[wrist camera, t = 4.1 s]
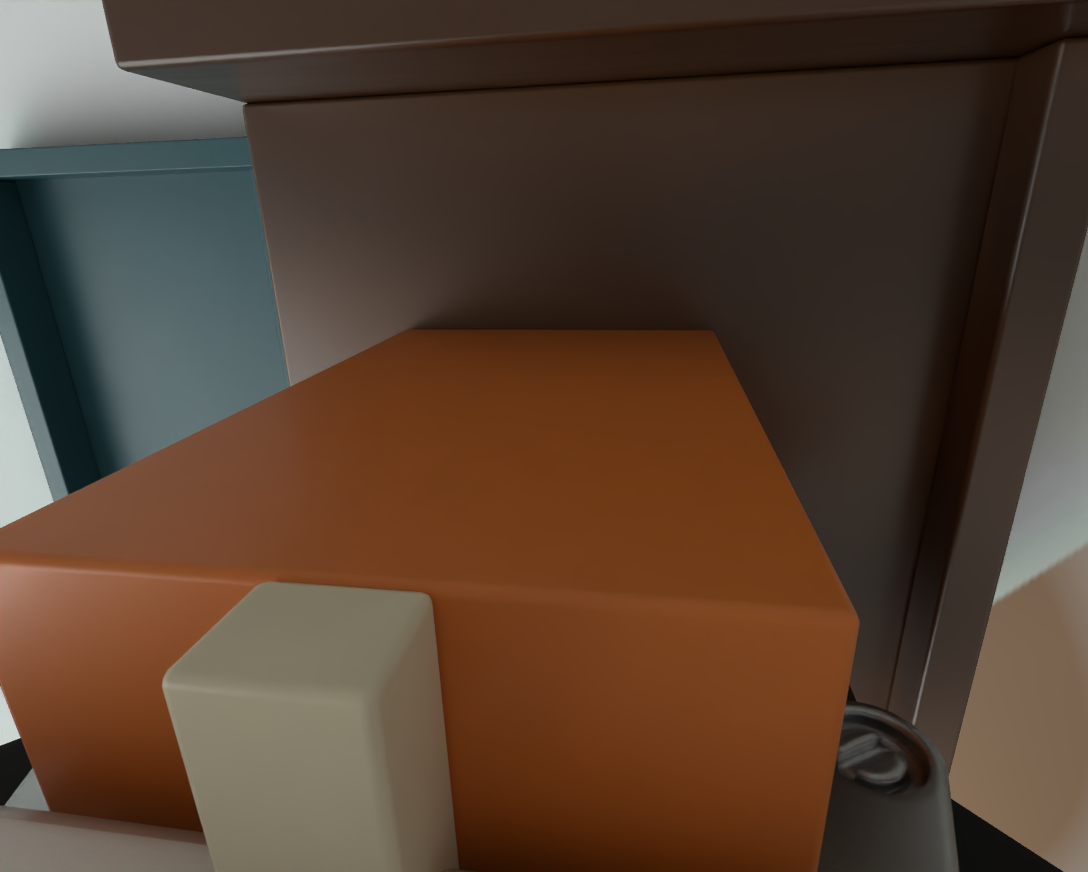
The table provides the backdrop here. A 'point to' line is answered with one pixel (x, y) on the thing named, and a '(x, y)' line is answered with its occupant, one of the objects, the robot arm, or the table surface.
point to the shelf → (703, 232)
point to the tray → (133, 297)
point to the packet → (446, 621)
